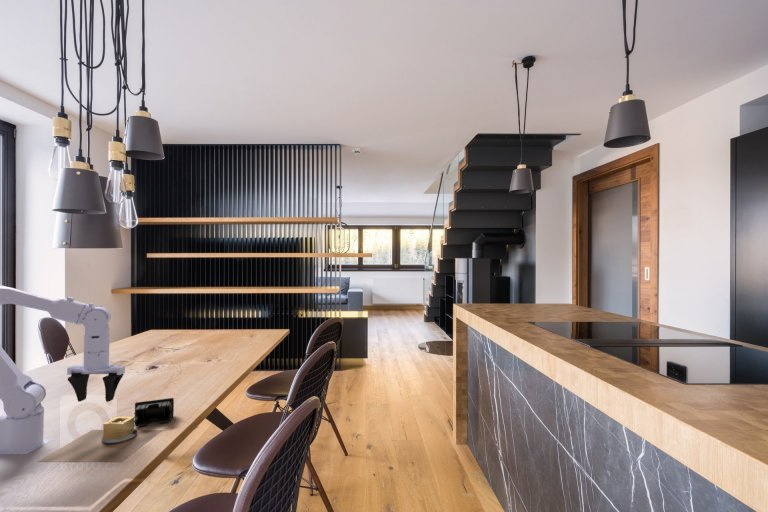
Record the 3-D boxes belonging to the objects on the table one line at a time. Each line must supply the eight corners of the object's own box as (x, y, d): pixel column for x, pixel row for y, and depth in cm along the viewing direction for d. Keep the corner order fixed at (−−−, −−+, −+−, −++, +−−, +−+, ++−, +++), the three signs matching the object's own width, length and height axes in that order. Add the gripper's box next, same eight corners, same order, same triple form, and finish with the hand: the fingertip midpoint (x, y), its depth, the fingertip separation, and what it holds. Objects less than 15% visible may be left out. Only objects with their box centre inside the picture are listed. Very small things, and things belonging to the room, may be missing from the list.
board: (36, 464, 94) (36, 461, 94) (92, 431, 112) (92, 429, 112) (121, 464, 94) (121, 461, 94) (163, 432, 112) (163, 429, 112)
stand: (94, 444, 103) (94, 428, 103) (114, 431, 111) (114, 416, 111) (124, 444, 103) (125, 428, 103) (143, 431, 111) (143, 416, 111)
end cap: (173, 416, 123) (173, 395, 124) (172, 425, 117) (172, 402, 117) (136, 422, 119) (136, 399, 119) (132, 431, 113) (133, 407, 113)
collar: (103, 439, 104) (103, 424, 104) (115, 431, 109) (116, 416, 109) (122, 439, 104) (122, 424, 104) (134, 431, 109) (134, 416, 109)
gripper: (58, 354, 105) (57, 405, 105) (113, 354, 105) (112, 405, 105) (78, 348, 112) (77, 396, 112) (130, 348, 113) (129, 396, 112)
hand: (95, 400), depth 109 cm, fingers open, 7 cm apart
